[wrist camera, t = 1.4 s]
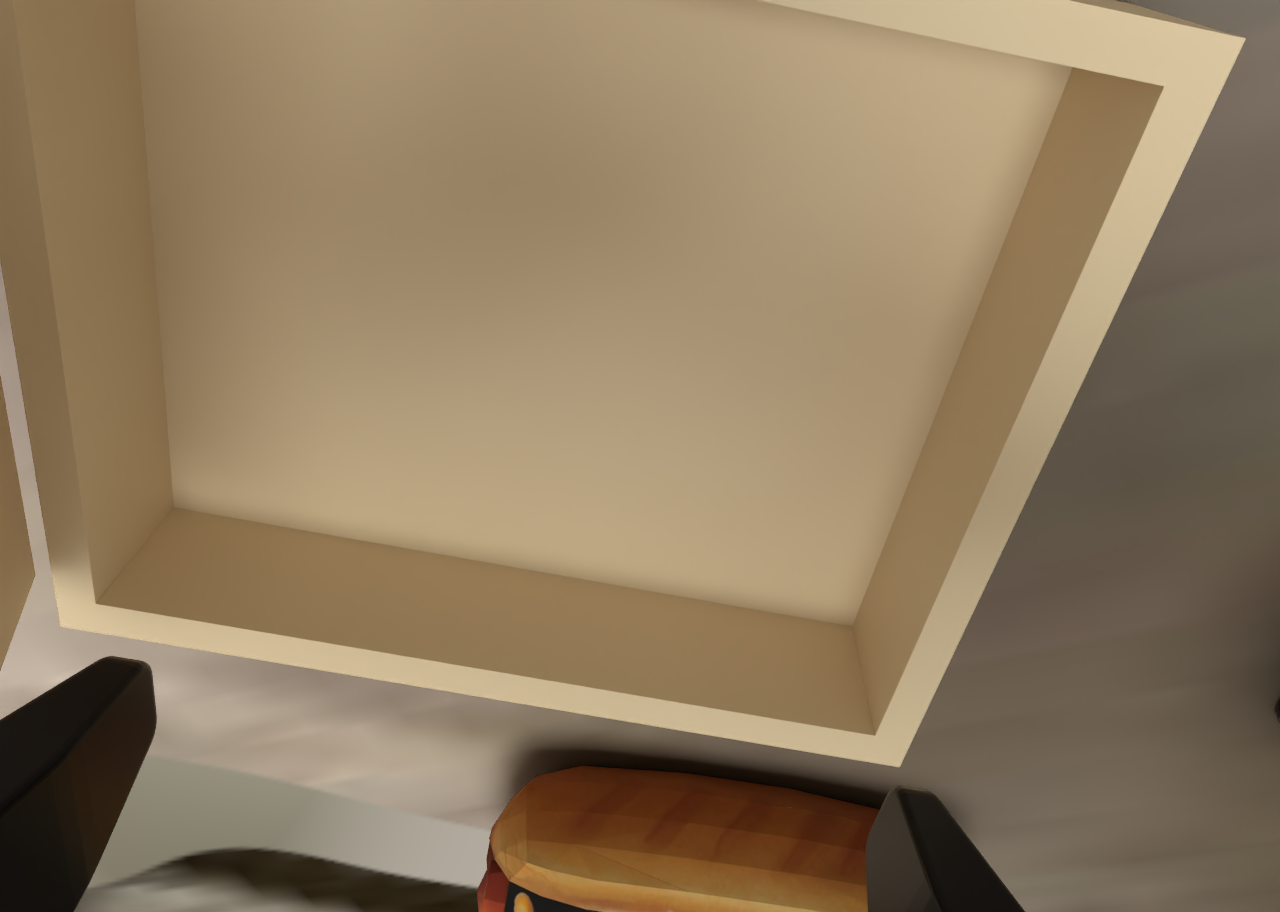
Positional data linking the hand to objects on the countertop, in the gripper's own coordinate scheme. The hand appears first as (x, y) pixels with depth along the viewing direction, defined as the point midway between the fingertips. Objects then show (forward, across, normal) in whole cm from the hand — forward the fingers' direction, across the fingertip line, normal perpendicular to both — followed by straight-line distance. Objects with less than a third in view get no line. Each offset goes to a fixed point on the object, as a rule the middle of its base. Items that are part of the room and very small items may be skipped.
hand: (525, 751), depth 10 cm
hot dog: (+12, -6, +15) cm, 20 cm away
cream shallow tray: (+12, +1, 0) cm, 12 cm away
